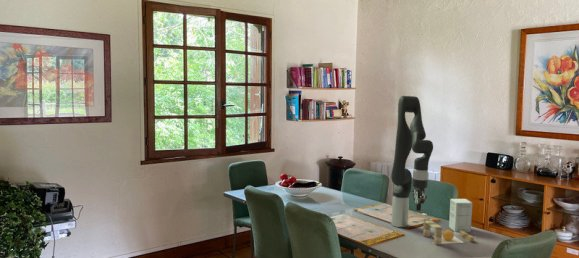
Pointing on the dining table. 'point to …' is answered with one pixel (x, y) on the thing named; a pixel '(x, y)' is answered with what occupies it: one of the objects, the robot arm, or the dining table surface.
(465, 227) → the supplement box
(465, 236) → the stopper wall
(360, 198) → the dining table surface
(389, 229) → the dining table surface
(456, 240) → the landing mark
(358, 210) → the dining table surface
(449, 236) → the ball
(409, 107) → the robot arm
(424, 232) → the bridge
